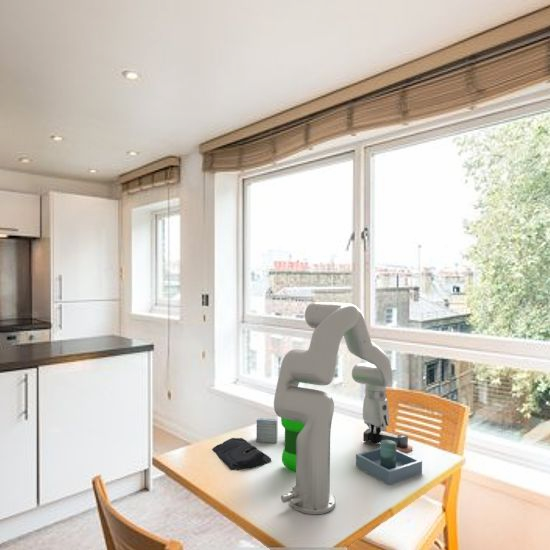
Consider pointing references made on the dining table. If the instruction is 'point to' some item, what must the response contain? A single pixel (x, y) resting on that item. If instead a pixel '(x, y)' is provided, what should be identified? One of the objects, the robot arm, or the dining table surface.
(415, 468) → the tray
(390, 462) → the teal cylinder
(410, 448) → the crank base
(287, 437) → the plastic bottle
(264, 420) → the medicine box
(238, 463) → the dark slate chunk
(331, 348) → the robot arm
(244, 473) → the dining table surface
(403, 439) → the crank lever
